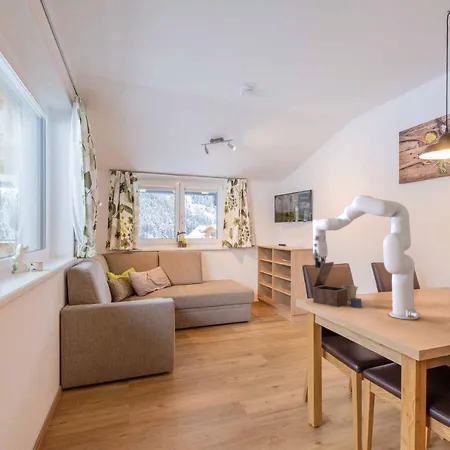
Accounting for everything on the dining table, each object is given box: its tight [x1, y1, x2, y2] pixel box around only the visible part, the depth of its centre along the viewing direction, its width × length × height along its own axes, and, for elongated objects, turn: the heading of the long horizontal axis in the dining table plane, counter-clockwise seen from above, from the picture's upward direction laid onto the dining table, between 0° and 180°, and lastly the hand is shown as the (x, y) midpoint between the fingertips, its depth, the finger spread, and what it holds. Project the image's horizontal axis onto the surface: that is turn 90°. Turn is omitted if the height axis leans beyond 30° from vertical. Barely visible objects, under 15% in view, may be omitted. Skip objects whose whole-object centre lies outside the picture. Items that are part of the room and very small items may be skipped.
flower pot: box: [341, 284, 359, 302], centre depth 192 cm, size 9×9×9 cm
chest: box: [312, 284, 349, 307], centre depth 185 cm, size 16×13×9 cm
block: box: [349, 297, 363, 309], centre depth 175 cm, size 4×4×4 cm
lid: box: [312, 260, 335, 288], centre depth 190 cm, size 17×13×5 cm
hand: (320, 267), depth 190 cm, fingers closed on lid, 5 cm apart
